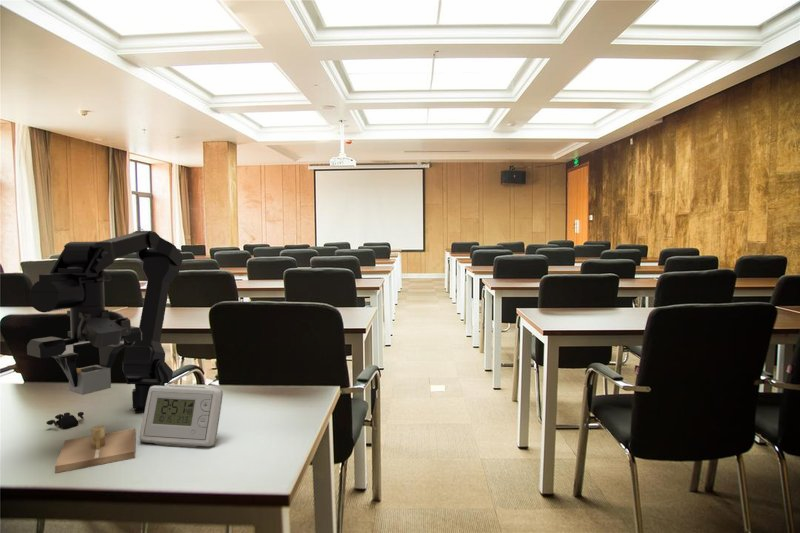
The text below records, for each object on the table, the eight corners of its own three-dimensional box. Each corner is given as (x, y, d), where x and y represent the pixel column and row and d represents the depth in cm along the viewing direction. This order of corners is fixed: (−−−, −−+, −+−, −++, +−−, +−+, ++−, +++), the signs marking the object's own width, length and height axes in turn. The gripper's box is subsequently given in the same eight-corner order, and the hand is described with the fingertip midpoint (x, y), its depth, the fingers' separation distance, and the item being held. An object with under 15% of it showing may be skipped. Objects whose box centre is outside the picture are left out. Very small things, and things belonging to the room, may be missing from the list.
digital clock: (134, 443, 94) (132, 391, 93) (170, 426, 102) (168, 378, 102) (199, 456, 88) (198, 400, 88) (232, 437, 97) (231, 386, 96)
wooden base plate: (135, 434, 98) (134, 411, 98) (134, 457, 88) (133, 433, 87) (65, 446, 92) (64, 422, 92) (55, 473, 82) (54, 446, 82)
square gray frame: (97, 383, 98) (96, 361, 98) (110, 387, 95) (110, 365, 95) (69, 390, 93) (68, 367, 93) (82, 394, 91) (82, 371, 91)
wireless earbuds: (53, 428, 98) (43, 416, 101) (51, 438, 99) (42, 426, 102) (90, 417, 104) (79, 406, 107) (88, 427, 105) (78, 415, 107)
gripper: (54, 314, 81) (57, 403, 82) (157, 302, 97) (158, 377, 98) (24, 309, 87) (27, 393, 88) (126, 299, 103) (128, 370, 104)
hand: (90, 383), depth 94 cm, fingers closed on square gray frame, 5 cm apart
